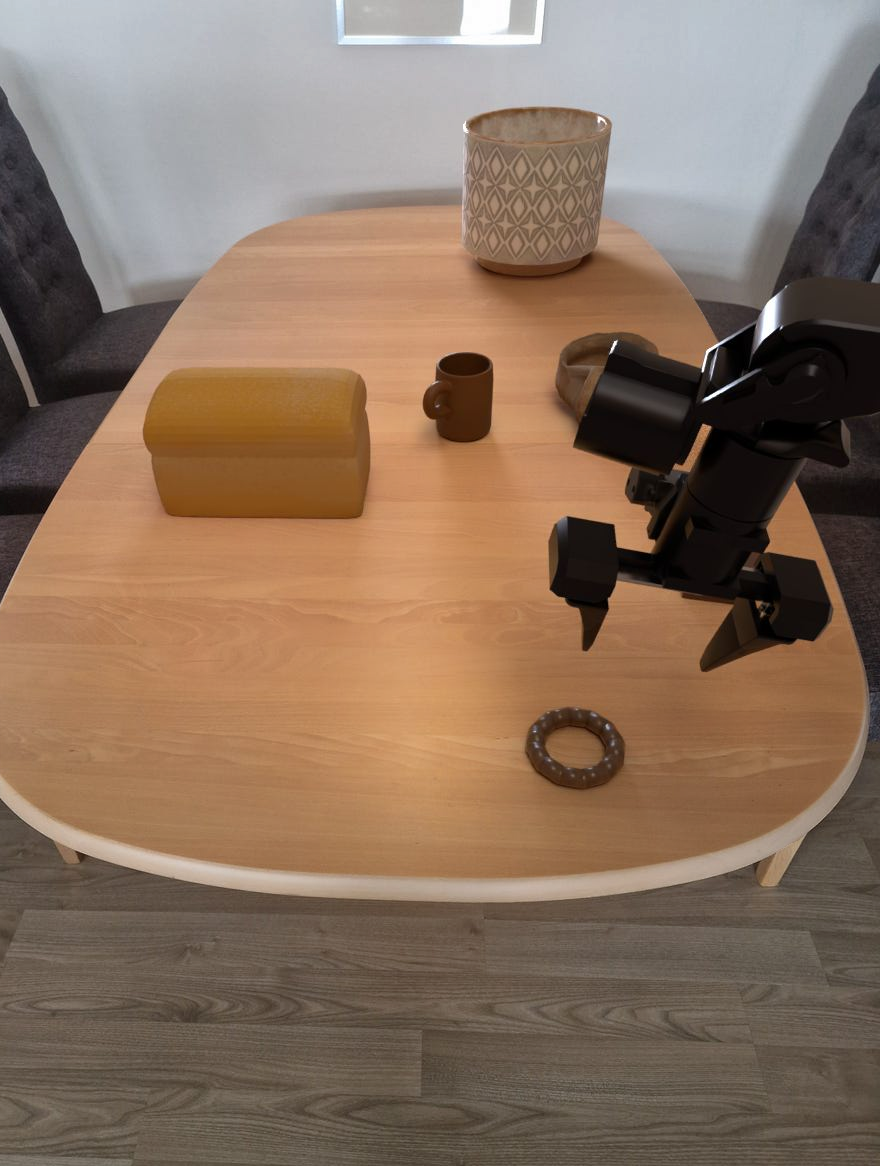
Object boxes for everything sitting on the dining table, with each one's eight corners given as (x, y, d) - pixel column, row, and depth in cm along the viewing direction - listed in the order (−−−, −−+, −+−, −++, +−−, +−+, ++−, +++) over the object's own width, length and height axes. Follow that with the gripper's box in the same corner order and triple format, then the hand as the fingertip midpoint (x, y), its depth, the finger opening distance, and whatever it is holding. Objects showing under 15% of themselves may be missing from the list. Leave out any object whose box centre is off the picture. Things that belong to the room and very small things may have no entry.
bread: (372, 462, 109) (365, 352, 98) (362, 520, 100) (353, 405, 89) (189, 460, 111) (163, 352, 100) (162, 517, 101) (131, 404, 91)
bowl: (671, 438, 108) (663, 367, 101) (563, 459, 112) (548, 393, 106) (660, 373, 120) (652, 306, 114) (562, 395, 125) (549, 332, 118)
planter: (493, 291, 149) (499, 150, 133) (442, 245, 166) (442, 116, 151) (620, 268, 154) (640, 131, 139) (557, 226, 172) (569, 100, 156)
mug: (448, 464, 108) (449, 397, 101) (403, 445, 112) (401, 379, 105) (502, 426, 114) (505, 360, 108) (458, 409, 118) (458, 345, 112)
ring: (625, 724, 76) (628, 712, 74) (620, 799, 70) (623, 787, 69) (532, 709, 77) (534, 697, 76) (520, 781, 71) (521, 769, 70)
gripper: (843, 446, 58) (743, 604, 69) (579, 398, 57) (523, 565, 69) (891, 551, 50) (770, 709, 61) (587, 497, 50) (522, 666, 61)
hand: (643, 657), depth 63 cm, fingers open, 9 cm apart
